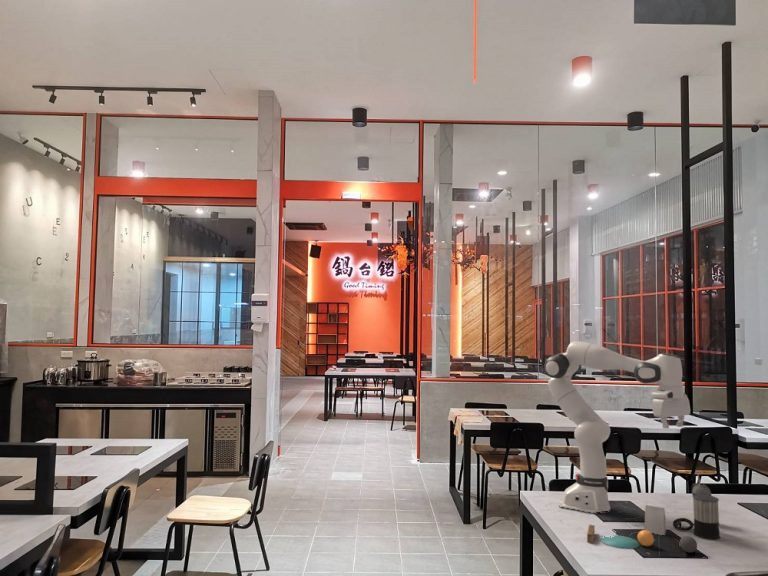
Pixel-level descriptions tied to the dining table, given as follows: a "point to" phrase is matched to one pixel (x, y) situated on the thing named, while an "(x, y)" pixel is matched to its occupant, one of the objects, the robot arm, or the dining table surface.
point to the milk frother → (703, 518)
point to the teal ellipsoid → (620, 542)
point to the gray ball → (688, 544)
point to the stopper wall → (590, 533)
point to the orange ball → (645, 538)
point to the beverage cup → (701, 489)
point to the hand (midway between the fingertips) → (672, 427)
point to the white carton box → (655, 520)
